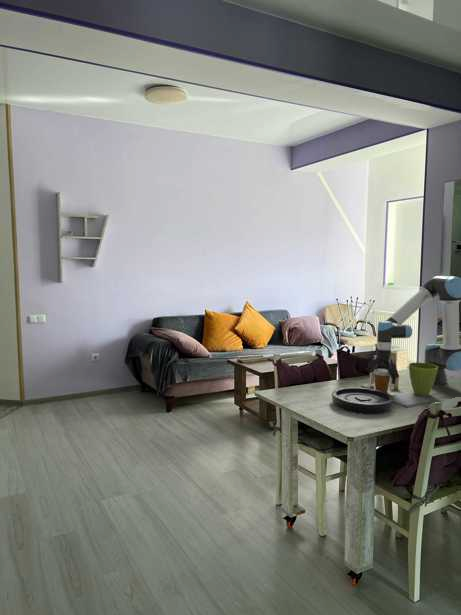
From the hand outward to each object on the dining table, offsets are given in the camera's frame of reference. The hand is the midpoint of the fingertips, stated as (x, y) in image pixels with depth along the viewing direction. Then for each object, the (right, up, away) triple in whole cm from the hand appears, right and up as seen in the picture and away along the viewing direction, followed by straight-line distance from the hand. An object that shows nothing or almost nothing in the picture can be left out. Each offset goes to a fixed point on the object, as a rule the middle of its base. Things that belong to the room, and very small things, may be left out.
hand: (381, 386), depth 265 cm
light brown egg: (+9, -2, +8) cm, 12 cm away
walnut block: (-10, -3, -6) cm, 12 cm away
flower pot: (+21, -4, -4) cm, 22 cm away
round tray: (-18, -6, -26) cm, 32 cm away
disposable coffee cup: (0, -3, 0) cm, 3 cm away
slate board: (+7, -5, -17) cm, 19 cm away
